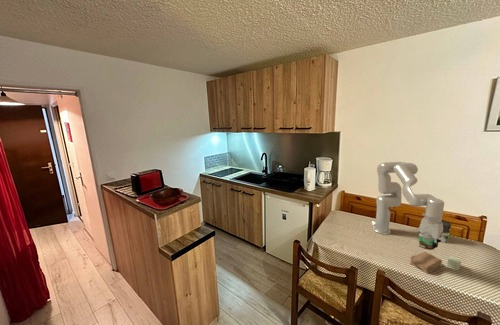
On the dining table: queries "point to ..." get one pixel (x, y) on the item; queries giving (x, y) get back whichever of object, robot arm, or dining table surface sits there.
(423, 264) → the walnut block
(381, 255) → the dining table surface
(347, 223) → the dining table surface
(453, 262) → the sage block
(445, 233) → the coffee can
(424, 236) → the food container
